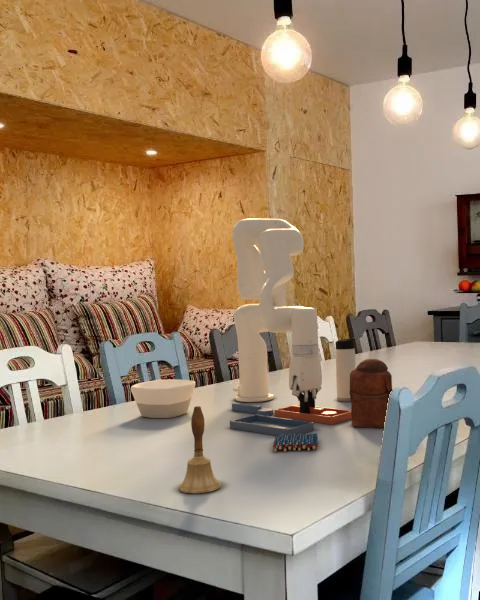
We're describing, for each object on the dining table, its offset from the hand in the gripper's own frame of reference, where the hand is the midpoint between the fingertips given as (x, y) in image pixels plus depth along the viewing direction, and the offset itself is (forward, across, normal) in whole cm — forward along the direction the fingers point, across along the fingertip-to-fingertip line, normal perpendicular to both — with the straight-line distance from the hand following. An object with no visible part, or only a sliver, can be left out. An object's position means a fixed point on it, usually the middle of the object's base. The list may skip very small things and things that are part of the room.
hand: (307, 413), depth 208 cm
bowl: (+1, +20, -40) cm, 45 cm away
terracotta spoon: (0, 0, +2) cm, 2 cm away
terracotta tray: (+1, 0, +2) cm, 2 cm away
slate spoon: (+1, +4, -18) cm, 19 cm away
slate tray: (+1, +18, +2) cm, 18 cm away
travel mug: (+1, -27, -6) cm, 28 cm away
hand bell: (+1, +65, +26) cm, 70 cm away
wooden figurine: (+1, +1, +23) cm, 23 cm away
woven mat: (+1, +29, +20) cm, 35 cm away
